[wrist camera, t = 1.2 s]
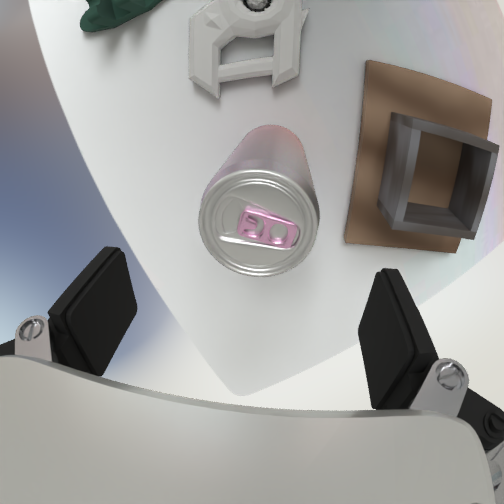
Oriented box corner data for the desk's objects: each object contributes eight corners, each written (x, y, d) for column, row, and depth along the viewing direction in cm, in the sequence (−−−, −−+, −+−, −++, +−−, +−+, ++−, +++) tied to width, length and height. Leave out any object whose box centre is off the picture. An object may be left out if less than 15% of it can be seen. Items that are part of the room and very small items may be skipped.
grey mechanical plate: (192, -74, 12) (311, -76, 11) (201, -61, 14) (308, -62, 14) (184, 100, 22) (305, 104, 21) (195, 96, 25) (302, 100, 24)
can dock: (365, 61, 20) (388, 55, 15) (485, 98, 19) (522, 107, 14) (343, 237, 30) (354, 271, 25) (451, 248, 29) (474, 279, 24)
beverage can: (292, 192, 28) (296, 293, 15) (232, 174, 28) (185, 261, 15) (312, 135, 25) (341, 190, 12) (249, 116, 24) (207, 149, 12)
